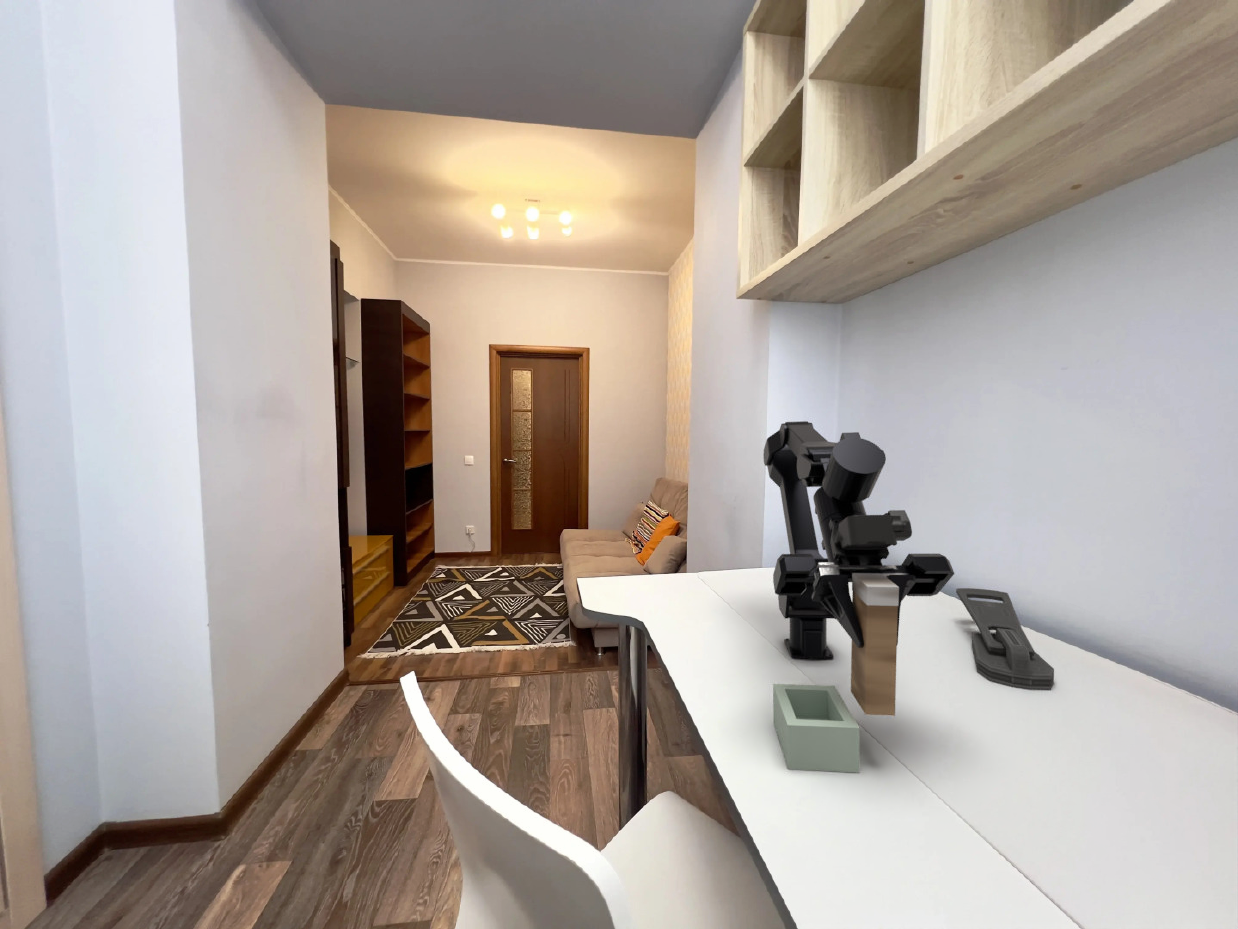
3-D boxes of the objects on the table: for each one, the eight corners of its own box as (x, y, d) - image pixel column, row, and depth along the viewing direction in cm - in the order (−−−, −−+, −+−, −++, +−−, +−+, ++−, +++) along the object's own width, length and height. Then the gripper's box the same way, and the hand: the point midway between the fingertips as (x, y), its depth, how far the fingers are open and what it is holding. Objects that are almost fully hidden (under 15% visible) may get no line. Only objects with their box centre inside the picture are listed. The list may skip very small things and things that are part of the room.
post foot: (773, 722, 64) (773, 683, 64) (834, 724, 63) (834, 685, 63) (787, 769, 55) (787, 725, 55) (859, 772, 54) (859, 728, 54)
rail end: (850, 691, 59) (852, 573, 58) (878, 692, 58) (881, 573, 57) (864, 714, 54) (867, 586, 53) (895, 716, 54) (898, 587, 52)
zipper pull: (1010, 591, 90) (1064, 647, 68) (1009, 627, 91) (1062, 695, 68) (951, 586, 94) (983, 638, 72) (951, 620, 95) (982, 683, 72)
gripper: (777, 486, 59) (800, 614, 49) (947, 483, 57) (1008, 616, 47) (765, 538, 68) (783, 655, 58) (913, 537, 66) (959, 658, 56)
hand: (877, 646), depth 54 cm, fingers closed on rail end, 3 cm apart
